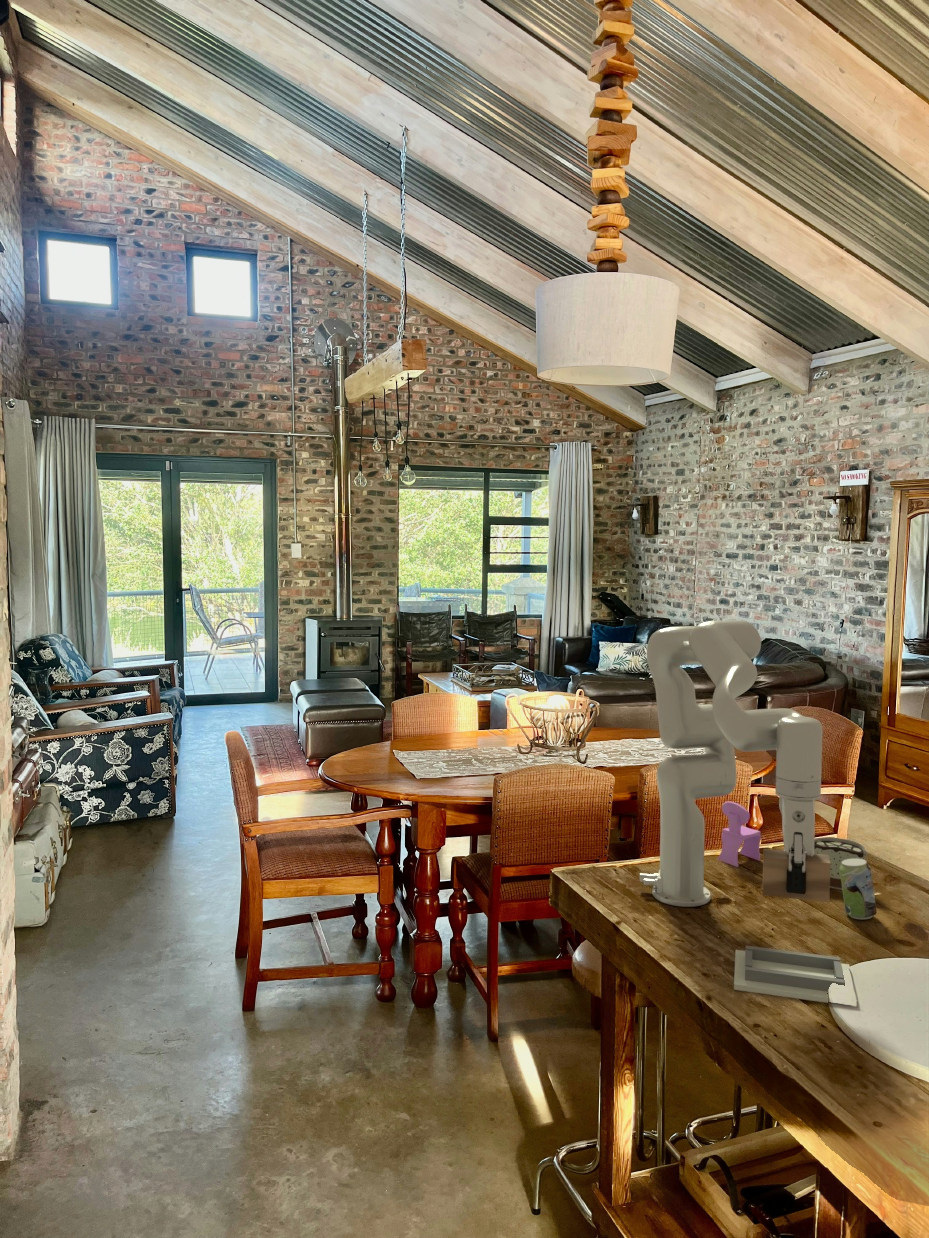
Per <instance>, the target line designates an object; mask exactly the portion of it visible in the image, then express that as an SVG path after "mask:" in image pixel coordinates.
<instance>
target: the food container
mask: <svg viewBox="0 0 929 1238" xmlns="http://www.w3.org/2000/svg"><path fill="white" fill-rule="evenodd" d="M814 854H825V855H829V859H830V863H831V866H830V889H831V888H832V889H837V890H842V883H841V876H840V866H841V864H842V863H841V862H842V861H843V860H845V859H849V858H860V859H864V860H866V861H867V860H868V854H867V850H866V847H865V846H864V845H862V844H861V843H859V842H856V841H853V840H851V839H846V838H841V837H819V838H814ZM865 858H866V859H865Z"/></svg>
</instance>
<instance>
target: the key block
mask: <svg viewBox="0 0 929 1238" xmlns="http://www.w3.org/2000/svg"><path fill="white" fill-rule="evenodd" d="M783 850H784V849H782V850H781V849H771V848H770V849H769V848H763V850H762V851H763V854H762V855H763V858H762V860H763V861H762V866H763V867H762V895H763V896H768V897H775V898H776V897H777V898H786V899H792V900H793V899H795V900H801V901H802V900H803V901H813V902H819V903H820V902H821V903H830V898H831V897H830V894H831V893H830V892H831V890H830V889H831V888H830V866H831V863H830V859H829V855H825V854H814V856H813V857H810V855H807V853H806V852H805V855H806V857H805V871H806V893H805V894H797V893H788V892H787V891H786V879H787V869H788V862H789V855H788V854H787V853H786V852H785V851H783ZM791 853H794V852H793V851H791ZM802 854H803V852H802ZM792 859H794V857H792Z"/></svg>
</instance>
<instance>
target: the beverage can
mask: <svg viewBox="0 0 929 1238" xmlns="http://www.w3.org/2000/svg"><path fill="white" fill-rule="evenodd" d="M841 863H842V864H841V866H840V876H841V883H842V891H841V892H842V895H843V896H842V898H843V903H844V911H845V914H846V915H847V916H849V917H850V918H852V919H855V920H869V919H872V918H873V917H874V916H875V915H876V914H877V911H878V910H877V905H876V898H875V891H874V890H875V889H874V883H873V876H872V868H871V865H869V864H868V862H867V860H866V859H865V858H864V859H860V858H849V859H845V860H843V861H842V862H841Z"/></svg>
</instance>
